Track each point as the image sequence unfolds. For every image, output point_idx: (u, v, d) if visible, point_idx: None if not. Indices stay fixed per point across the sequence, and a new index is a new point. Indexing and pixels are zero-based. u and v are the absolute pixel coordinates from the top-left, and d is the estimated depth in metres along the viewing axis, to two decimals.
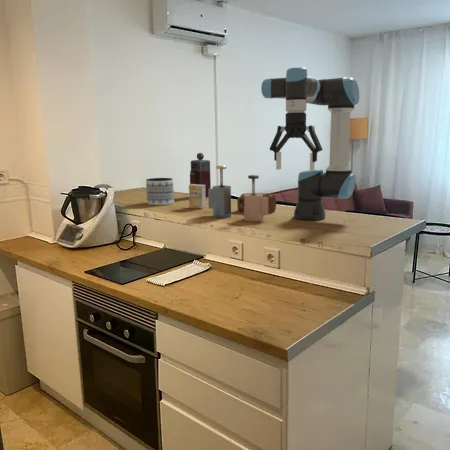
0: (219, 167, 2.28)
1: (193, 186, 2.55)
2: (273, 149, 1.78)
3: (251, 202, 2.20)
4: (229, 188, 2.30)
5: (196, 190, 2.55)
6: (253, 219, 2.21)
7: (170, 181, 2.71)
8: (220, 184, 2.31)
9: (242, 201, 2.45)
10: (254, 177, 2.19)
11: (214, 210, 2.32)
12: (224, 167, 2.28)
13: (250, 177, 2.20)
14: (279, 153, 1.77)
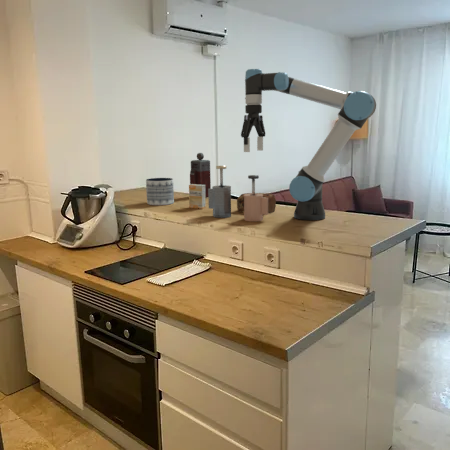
0: (219, 167, 2.28)
1: (193, 186, 2.55)
2: None
3: (251, 202, 2.20)
4: (229, 188, 2.30)
5: (196, 190, 2.55)
6: (253, 219, 2.21)
7: (170, 181, 2.71)
8: (220, 184, 2.31)
9: (242, 201, 2.45)
10: (254, 177, 2.19)
11: (214, 210, 2.32)
12: (224, 167, 2.28)
13: (250, 177, 2.20)
14: (259, 137, 2.23)
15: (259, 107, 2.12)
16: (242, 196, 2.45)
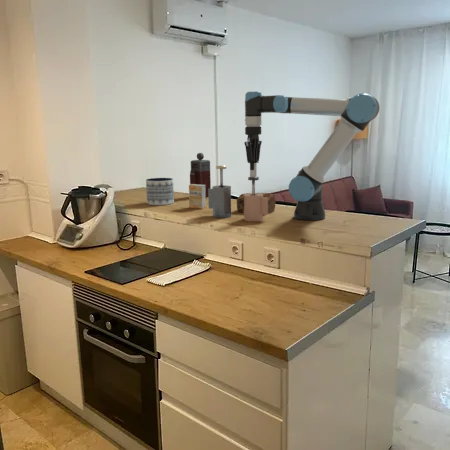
0: (219, 167, 2.28)
1: (193, 186, 2.55)
2: None
3: (251, 202, 2.20)
4: (229, 188, 2.30)
5: (196, 190, 2.55)
6: (253, 219, 2.21)
7: (170, 181, 2.71)
8: (220, 184, 2.31)
9: (242, 201, 2.44)
10: (254, 179, 2.19)
11: (214, 210, 2.32)
12: (224, 167, 2.28)
13: (250, 179, 2.20)
14: None
15: (259, 129, 2.14)
16: (242, 196, 2.44)
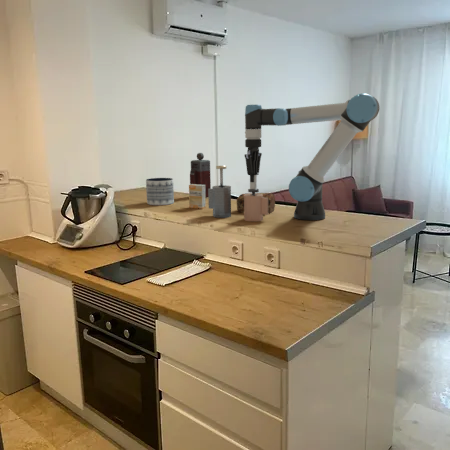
0: (219, 167, 2.28)
1: (193, 186, 2.55)
2: None
3: (251, 202, 2.20)
4: (229, 188, 2.30)
5: (196, 190, 2.55)
6: (253, 219, 2.21)
7: (170, 181, 2.71)
8: (220, 184, 2.31)
9: (242, 202, 2.43)
10: (254, 191, 2.20)
11: (214, 210, 2.32)
12: (224, 167, 2.28)
13: (250, 191, 2.21)
14: None
15: (259, 141, 2.15)
16: (242, 196, 2.44)
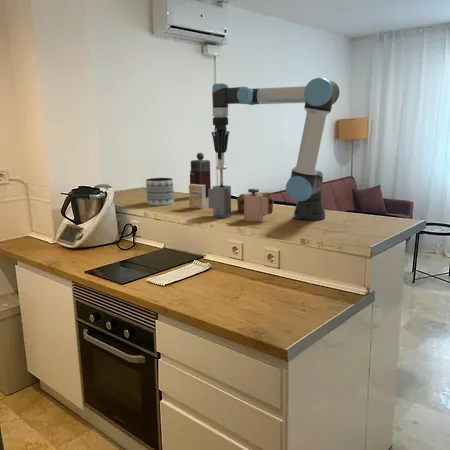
0: (219, 167, 2.28)
1: (193, 186, 2.55)
2: (222, 150, 2.31)
3: (251, 202, 2.20)
4: (229, 188, 2.30)
5: (196, 190, 2.55)
6: (253, 219, 2.21)
7: (170, 181, 2.71)
8: (220, 184, 2.31)
9: None
10: (254, 191, 2.21)
11: (214, 210, 2.32)
12: (224, 167, 2.28)
13: (250, 191, 2.21)
14: None
15: (225, 119, 2.23)
16: (243, 197, 2.42)
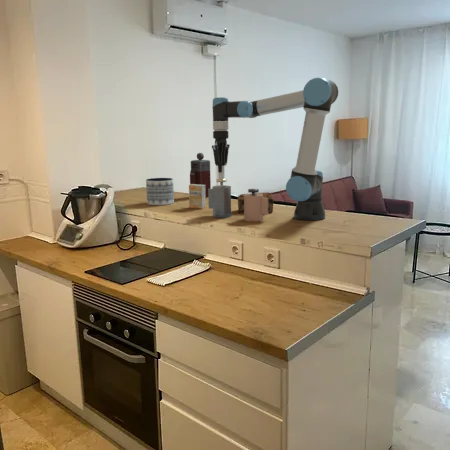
0: (219, 180, 2.29)
1: (193, 186, 2.55)
2: (222, 163, 2.32)
3: (251, 202, 2.20)
4: (229, 188, 2.30)
5: (196, 190, 2.55)
6: (253, 219, 2.21)
7: (170, 181, 2.71)
8: None
9: None
10: (254, 191, 2.21)
11: (214, 210, 2.32)
12: (224, 180, 2.30)
13: (250, 191, 2.21)
14: None
15: (225, 133, 2.24)
16: None
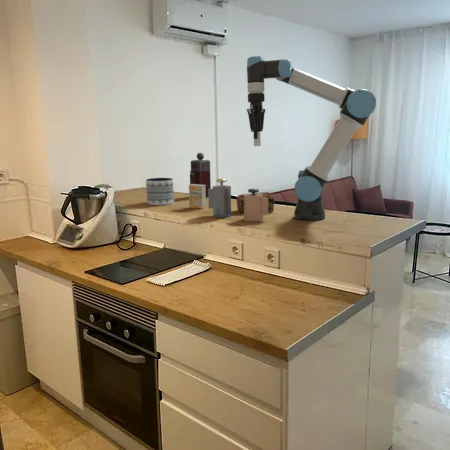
0: (219, 180, 2.29)
1: (193, 186, 2.55)
2: (257, 129, 2.15)
3: (251, 202, 2.20)
4: (229, 188, 2.30)
5: (196, 190, 2.55)
6: (253, 219, 2.21)
7: (170, 181, 2.71)
8: None
9: None
10: (254, 191, 2.21)
11: (214, 210, 2.32)
12: (224, 180, 2.30)
13: (250, 191, 2.21)
14: None
15: (261, 95, 2.07)
16: None
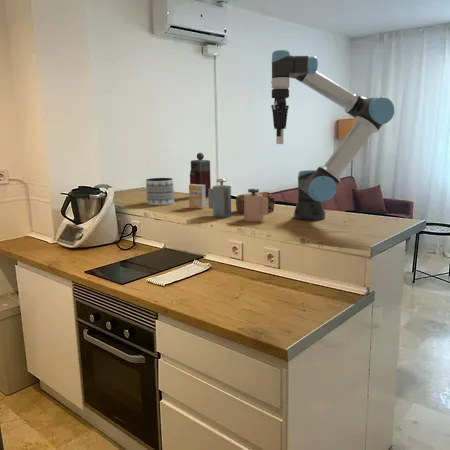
0: (219, 180, 2.29)
1: (193, 186, 2.55)
2: None
3: (251, 202, 2.20)
4: (229, 188, 2.30)
5: (196, 190, 2.55)
6: (253, 219, 2.21)
7: (170, 181, 2.71)
8: None
9: None
10: (254, 191, 2.21)
11: (214, 210, 2.32)
12: (224, 180, 2.30)
13: (250, 191, 2.21)
14: None
15: (286, 91, 1.98)
16: None
